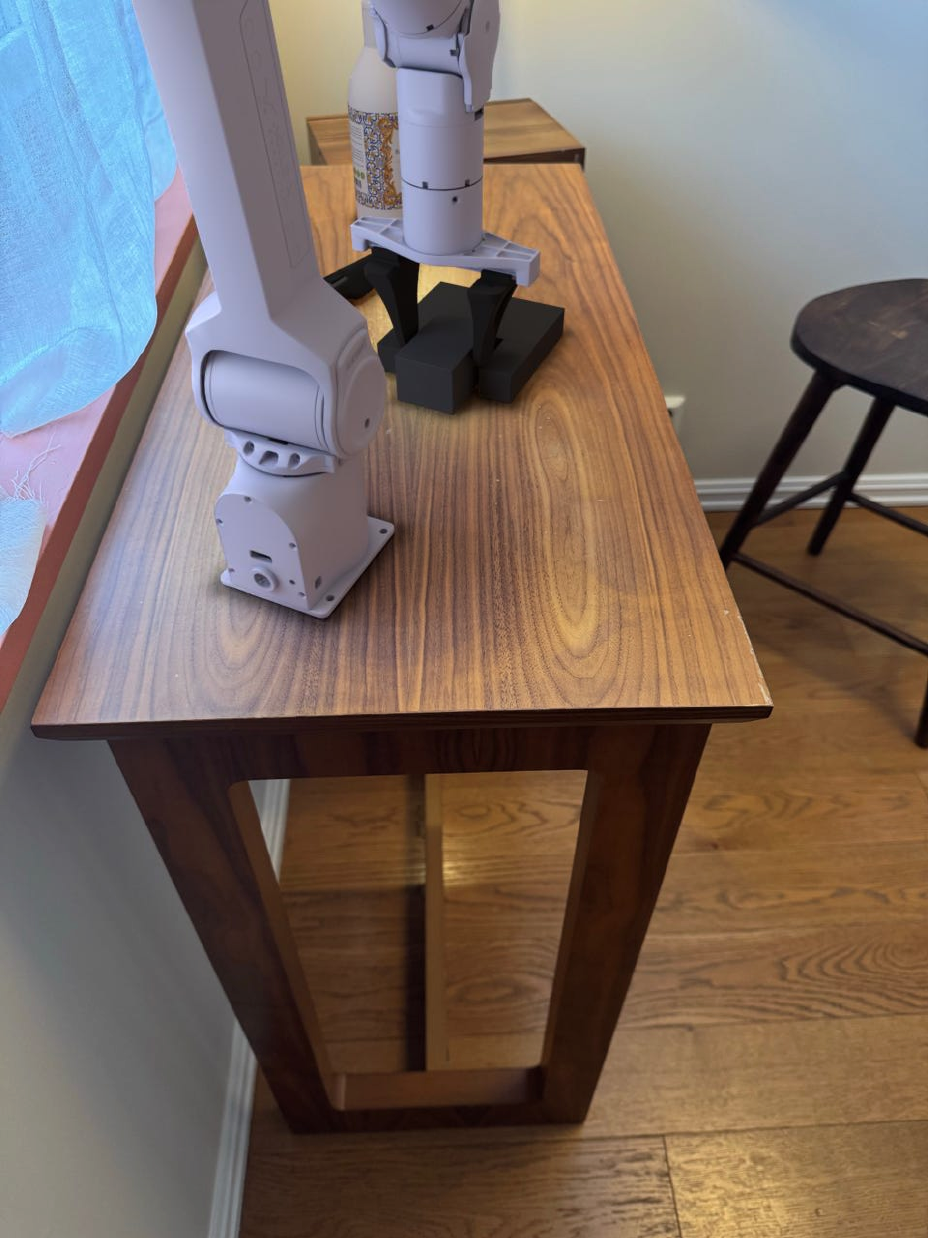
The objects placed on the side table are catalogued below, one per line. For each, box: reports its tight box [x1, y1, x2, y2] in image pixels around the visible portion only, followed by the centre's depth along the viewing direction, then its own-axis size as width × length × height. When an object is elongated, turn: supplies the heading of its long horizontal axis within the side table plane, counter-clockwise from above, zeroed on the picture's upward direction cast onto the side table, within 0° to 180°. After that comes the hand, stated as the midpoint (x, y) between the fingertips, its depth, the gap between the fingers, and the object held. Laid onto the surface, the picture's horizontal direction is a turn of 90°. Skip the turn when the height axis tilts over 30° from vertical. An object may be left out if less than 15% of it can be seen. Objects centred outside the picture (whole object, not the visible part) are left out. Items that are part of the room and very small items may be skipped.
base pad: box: [376, 280, 566, 404], centre depth 78 cm, size 12×12×2 cm
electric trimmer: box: [322, 252, 375, 302], centre depth 83 cm, size 4×16×3 cm, turn 142°
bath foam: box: [346, 0, 403, 220], centre depth 90 cm, size 7×7×20 cm
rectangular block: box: [395, 311, 494, 416], centre depth 74 cm, size 8×5×4 cm, turn 155°
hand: (445, 351), depth 73 cm, fingers open, 6 cm apart
